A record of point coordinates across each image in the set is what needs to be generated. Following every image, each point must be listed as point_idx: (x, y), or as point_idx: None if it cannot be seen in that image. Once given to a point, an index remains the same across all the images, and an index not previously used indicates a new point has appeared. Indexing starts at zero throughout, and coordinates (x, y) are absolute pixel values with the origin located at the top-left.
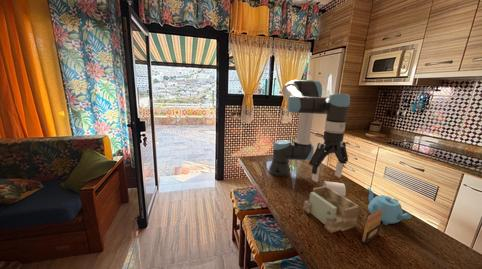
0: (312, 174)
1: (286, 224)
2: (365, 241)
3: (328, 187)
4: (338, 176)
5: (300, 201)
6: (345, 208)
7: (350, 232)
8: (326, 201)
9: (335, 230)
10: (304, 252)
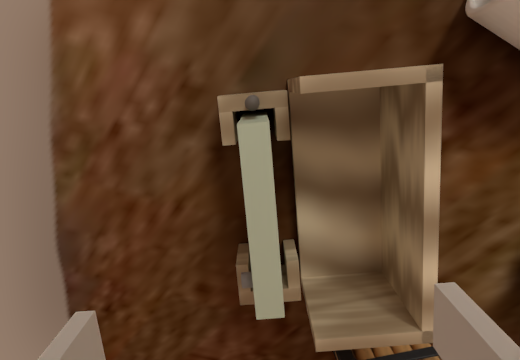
0: (43, 354)
1: (68, 183)
2: (335, 357)
3: (512, 5)
4: (435, 335)
5: (254, 18)
6: (399, 245)
7: None
8: (270, 251)
9: None
10: None
